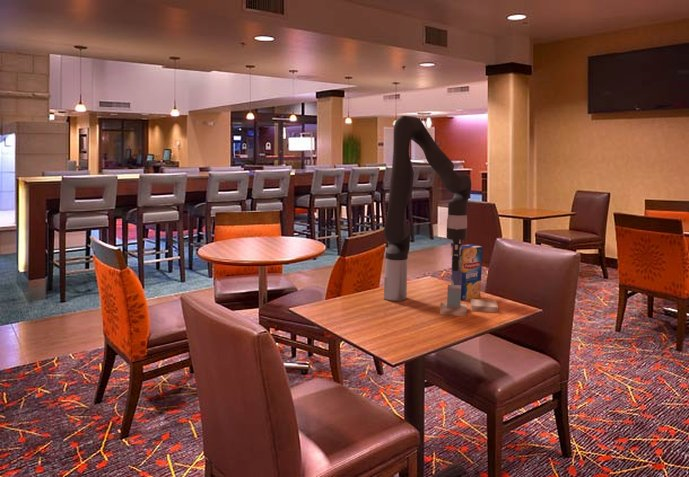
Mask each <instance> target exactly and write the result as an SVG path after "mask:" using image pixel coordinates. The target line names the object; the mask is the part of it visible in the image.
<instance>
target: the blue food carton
mask: <svg viewBox="0 0 689 477" xmlns="http://www.w3.org/2000/svg"><path fill="white" fill-rule="evenodd" d="M483 249H484V247H483V246H481V245H478V244H471V243H470V244H469V243H468V244H461V255H460V256H459V258H460V260H459V268H458V271H453V265H452V264H453V260H452V258H453V256H452V255H451V270H450V271H451V273H450V274H451V275H450V285H461V300H460V301H466V300H471V299H479V298H481V292H482V291H481V290H482V288H481V287H482V270H483V269H482V268H483V266H482V265H483V251H484V250H483ZM457 257H458V256H457Z"/></svg>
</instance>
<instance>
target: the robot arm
mask: <svg viewBox="0 0 689 477" xmlns="http://www.w3.org/2000/svg"><path fill="white" fill-rule="evenodd" d="M411 141H413V142H414V143H415V144H417V145H418V146H419V147H420V149H421V150H422V151H423V153H424V157H425V159H426V161H427V163H428V165H429V166H430V167H431V168H432V169H433V170H434V171H435V173H437V175H438V176H439V178H440V180H441V182H442V185H443V187H444V188H445V189H446V190H447V191H448V192H450V193H452V194H453V196H452V198H450V200H449V201H448V204H447V219H446V239H448V240H452V242H451V243H450V249H451V251H450V253H451V254H450V255H451V261H452V260H453V264H452V263H451V266H452V265H453V271H458V268H459V260H460V258H459V256H460V255H461V245H462V243H460V241H464V240H466V239H467V235H468V234H467V233H468V216H467V213H468V202H469V198H470V196H471V195H470V194H471V191H472V180H471V177H470V176H469V175H468V174H467V173H456V172H455V171H454V170H455V164H454V163H453V161H452V159H450V158H449V157H448V155H447V154H446V153H445V152H444V151H443V150H442V149H441V148H440V147H439V145H438V144H437V143H436V141H435V140H434V139H433V137H432V135H431V134H430V132H429V131H428V130H427V127H426V126H425V124H424V123H423V121H422V120H421V119H420V118H418V117H417V116H411V115H401V116H398V117H397V119H396V120H395V122H394V126H393V148H392V149H393V152H392V153H393V154H392V163H391V173H390V180H389V182H390V183H389V194H388V203H387V204H388V205H387V212H386V218H385V222H384V226H383V227H384V228H383V235H384V238H385V240H386V241H387V243H388V247H387V249H386V251H385V265H384V266H385V267H384V276H383V278H384V279H383V280H384V281H383V300H388V301H394V302H401V301H404V300H407V295H408V294H407V293H408V292H407V288H408V257H409V253H410V247H411V246H410V244H411V228H410V225H409V223H408V222H407V221H405V216H406V214H405V213H406V208H407V205H408V203H409V200H410V199H411V195H412V193H413V186H414V179H415V178H414V177H415V171H414V167H413V163H412V161H411V156H410V143H411ZM452 256H453V258H452ZM457 256H458V257H457Z"/></svg>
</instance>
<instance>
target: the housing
mask: <svg viewBox="0 0 689 477" xmlns="http://www.w3.org/2000/svg"><path fill="white" fill-rule="evenodd" d="M446 294H447V295H446V296H447V298H446V303H447V308H454V309H460V304H461V301H462V300H461V285H451V284H447V293H446Z"/></svg>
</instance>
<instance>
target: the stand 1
mask: <svg viewBox="0 0 689 477" xmlns="http://www.w3.org/2000/svg"><path fill="white" fill-rule="evenodd" d="M439 307H440V308H439V315H443V316H444V315H445V316H457V317H459V316H460V317H467V315H468V307H467V303H460V309H454V308H447V302H443V301H441V302H440V306H439Z"/></svg>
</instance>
